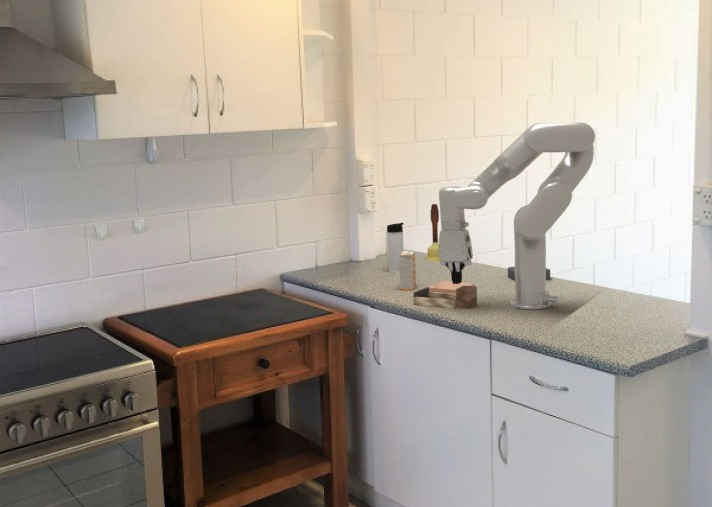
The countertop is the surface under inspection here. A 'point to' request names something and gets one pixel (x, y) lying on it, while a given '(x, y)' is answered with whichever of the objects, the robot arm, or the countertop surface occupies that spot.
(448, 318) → the countertop surface
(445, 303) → the birch chute
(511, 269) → the streaming box
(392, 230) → the travel mug
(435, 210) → the handbell
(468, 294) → the walnut block
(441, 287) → the terracotta tile
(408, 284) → the supplement box
